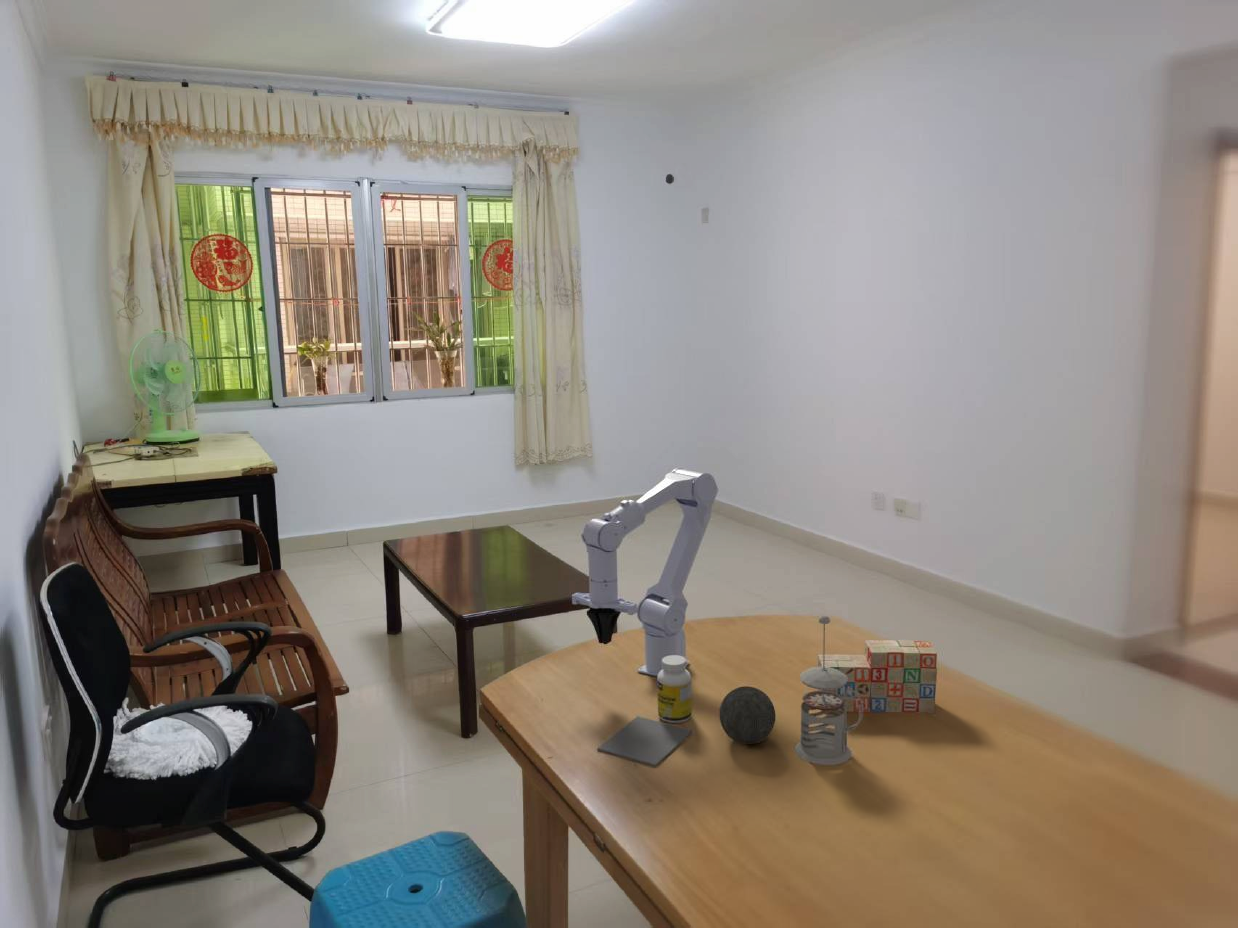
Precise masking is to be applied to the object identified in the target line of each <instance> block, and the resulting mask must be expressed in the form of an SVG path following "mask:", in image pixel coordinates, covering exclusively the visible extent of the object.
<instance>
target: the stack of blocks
mask: <svg viewBox="0 0 1238 928" xmlns="http://www.w3.org/2000/svg"><path fill="white" fill-rule="evenodd" d="M863 652H864V653H863V654H826V653H825V665H824V666H826V667H830V668H833V669H837V670H839V671H841V672H842V673H844V674H845V675H846V676H847V678H848V680H847V683H846V684H845V685H844V686H843V687H841V688H838V689H834V690H824V691H828V692H830V691H831V692H833V693H836V694H839V695H840V696H842V697H843V693H844V692H846V689H847V688H851V689H852V690H853V691H855V692H856V693H857V694H858V695H859V697H860V699H861V701H862V703H863V713H869V712H870V713H875V712H876V713H913V712H924V713H923V714H925V713H926V712H929V713H928V714H931V713H932V714H935V713H936V711H935V709H936V692H937V691H936V690H937V689H936V688H937V681H938V680H937V676H938V668H937V661H938V659H937V657H938V654H937V652H936V650H935V648H934V647H933V645H932V644H931V642H930V641H928V640H925V641H924V640H921V641H920V640H913V639H897V640H891V639H889V640H887V639H886V640H885V639H884V640H877V639H876V640H873V639H871V640H864V651H863ZM817 667H823V654H818V655H817ZM819 690H820V691H823V690H821V689H817V691H819ZM848 693H850V694H851V695H852V696H853V697H854V698H855V699H856V701H857V702H858V704H859V707H860V713H862V706H861V702H860V700H859V698H858V697H857V696H856V694H855V693H854V692H852V691H851V690H849V689H848ZM845 695H846V693H845ZM844 700H845V702H844V705H845V707H846V712H855V713H856V712H858V713H859V709H858V705H857V703H856V701H855V700H854V699H853V698H852V697H851V696H850V695H848V694H847V696H846V698H844ZM837 710H838V711H839V712H843V711H842V710H841V709H840V708H838V709H837ZM821 711H824V710H821ZM926 714H927V713H926Z"/></svg>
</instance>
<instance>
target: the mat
mask: <svg viewBox="0 0 1238 928" xmlns="http://www.w3.org/2000/svg"><path fill="white" fill-rule="evenodd" d="M693 733H694V730H693V729H689V728H685V727H681V726H677V725H673V724H671V723H667V722H666V723H665V722H662V721H658V720H653V719H651V718H650V719H649V718H646V717H641V716H638V715H637V716H636V717H635V718H633V719H632V720H631V721H629V722H628V723H627V724H626V725H625V726H623V727H622V728H621V729H619V730H618V731H617V732H616V733H614V734H613V735H612V736H611V737H609V738H608V739H607V740H606V741H604V742H603V743H602V744H601V745H600V746H597V748H596V749H597V751H599V752H602V753H606V754H608V755H609V754H610V755H613V756H616V757H618V758H623V759H627V760H630V761H632V762H633V761H634V762H636V763H641V764H644V765H647V766H650V767H654V768H656V767H657V766H658V765H659V764H660V763H661V762H663V760H665V759H666V758H667V757H668V756H669V755H670V754H672V752H674V751H675V750H676V749H677V748H678V747H679V746H680V745H682V744H683V742H685V741H686V740H687V739H688V738H689V737H690V736H692V734H693Z"/></svg>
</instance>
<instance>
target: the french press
mask: <svg viewBox="0 0 1238 928" xmlns="http://www.w3.org/2000/svg"><path fill="white" fill-rule="evenodd" d="M818 623H819V624H821V625H823V640H822V641H823V650H822V651H823V667H818V666H813V667H810V668H807V669H805V670H804V671H803V672H801V673H800V676H799V679H800V681H801V683H802V684H803V685H805V686H807V687H809V688H812V689H815V690H814V691H810V692H807V693H805V694H804V695H803V697H802V701H803V702H801V705H800V740H799V742H798V743H796V745H795V748H794V751H795V753H796V755H797V757H799V758H800V759H802V760H803V761H805V762H808V763H812V764H814V765H820V766H821V765H822V766H835V765H840V764H843V763H846V762H847V761H848V760H849V758H850V757H851V758H852V753H853V752H852V750H851V748H850V746H849V745H848V732H852V731H853V730H854V729H856V728H857V727H858V725H859V724H860V723H861V721H862V719H863V716H864V712H863V703H862V701H861V699H860V697H859V695H858V694H857V693H856V692H855V691H853V690H852V689H851V688H847V689H846V692H844V693H843V697H842V696H840V695H839V694H836V693H833V692H831V691H830V692H828V691H824V690H834V689H838V688H841V687H843V686H844V685H845V684H846V683H847V680H848V678H847V676H846V675H845V674H844V673H842V672H841V671H839V670H837V669H833V668H830V667H826V666H824V665H825V654H826V652H825V651H826V650H825V647H826V642H825V639H826V632H825V631H826V624H830V623H831V619H830V617H829V616H827V615H826V614H825V615H820V616H819V617H818ZM818 689H821V690H823V691H820V690H819V691H818ZM848 689H849V690H851V691H852V692H854V693H855V694H856V696H857V697H858V698H859V700H860V702H861V706H862V712H860V707H859V704H858V702H857V701H856V699H855V698H854V697H853V696H852V695H851V694H850V693H848ZM845 693H846V695H845ZM847 694H848V695H850V696H851V697H852V698H853V699H854V700H855V701H856V703H857V705H858V709H859V712H858V719H857V722H856V723H855V724H852V725H849V726H847V711H846V707H845V705H844V702H845V700H844V698H846V696H847ZM838 708H840V709H841V710H842V711H838V710H837V709H838ZM815 710H819V711H818V712H814V713H810V712H809V711H815ZM822 710H824V711H822ZM842 712H843V713H842ZM827 713H836V714H837V715H838V716H837V715H834V714H833V715H832V714H829V715H826V716H823V717H822V715H825V714H827ZM820 716H821V717H820ZM814 724H815V726H809V725H814ZM816 724H819V725H816ZM829 726H832V728H831V727H829ZM833 727H834V728H833ZM810 732H811V733H810ZM851 752H852V753H851ZM851 758H850V759H851ZM842 762H843V763H842Z"/></svg>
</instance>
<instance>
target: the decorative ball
mask: <svg viewBox="0 0 1238 928" xmlns="http://www.w3.org/2000/svg"><path fill="white" fill-rule="evenodd" d="M718 713H719V714H718V715H719V722H720V725H721V728H722V729H723V730H724V733H725V734H726V735H727V737H729V738H730V739H731V740H734V741H735V742H738V743H741V744H744V745H753V744H754V745H755V744H758V743H760V742H762V741H763V740H765V739H766V738H768V736H769V735H770V734H771V733H772V731H773V729H774V728H775V727H774V726H775V723H776V717H777V716H776V709H775V705H774V704H773V702H772V700H771V697H769V696H768V695H767V693H765V692H764V691H762V690H760V689H759V688H756V687H754V686H748V685H747V686H739V687H737V688H734V689H731V691H729V692H728V693H727V694H726V696H725V697H724V698H723V699H722V701H721V703H720V706H719V712H718Z"/></svg>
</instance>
